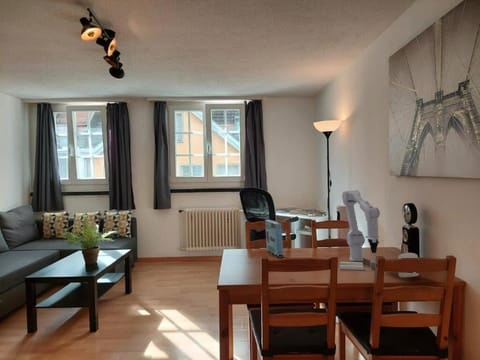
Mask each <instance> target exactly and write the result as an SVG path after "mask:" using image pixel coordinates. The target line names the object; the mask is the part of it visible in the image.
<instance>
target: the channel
mask: <svg viewBox="0 0 480 360" xmlns="http://www.w3.org/2000/svg"><path fill="white" fill-rule="evenodd" d="M339 270H352V271H353V270H354V271H364V270H365V269H364V264H363V262H362V261H340V262H339Z"/></svg>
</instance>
